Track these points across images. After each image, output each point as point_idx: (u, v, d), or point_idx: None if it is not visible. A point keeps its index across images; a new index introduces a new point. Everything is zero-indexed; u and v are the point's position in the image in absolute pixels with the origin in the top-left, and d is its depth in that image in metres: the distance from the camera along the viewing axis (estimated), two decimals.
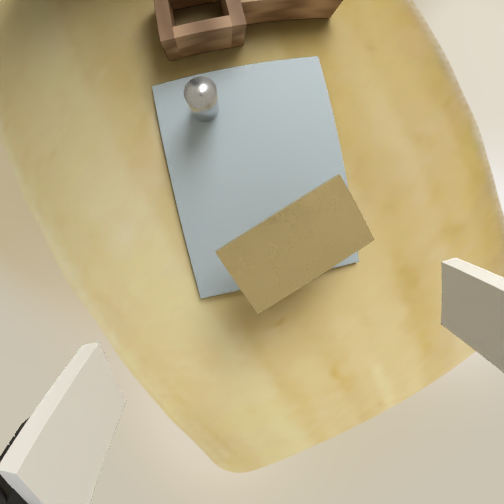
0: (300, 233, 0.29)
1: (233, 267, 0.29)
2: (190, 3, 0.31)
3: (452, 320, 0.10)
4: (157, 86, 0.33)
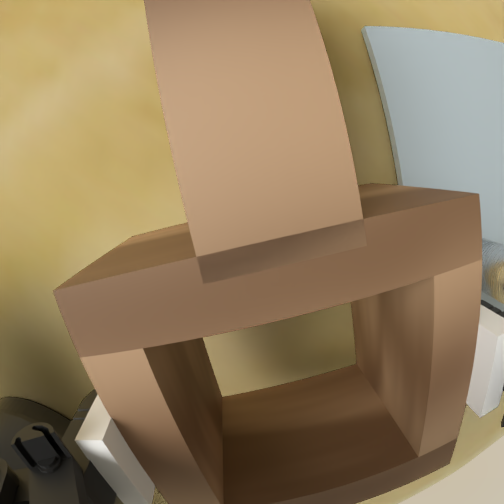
0: None
1: None
2: (206, 362, 0.12)
3: None
4: None
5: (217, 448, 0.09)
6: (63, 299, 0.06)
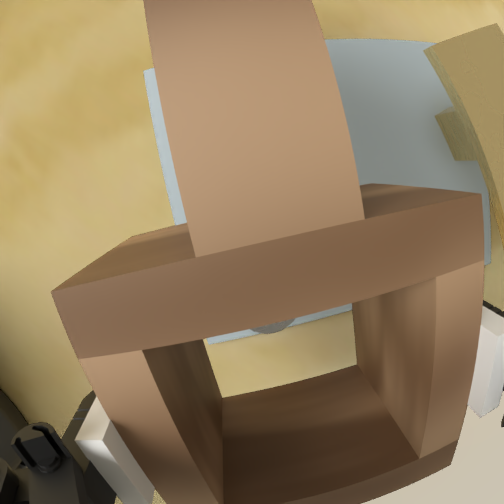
0: None
1: None
2: (206, 363, 0.12)
3: None
4: None
5: (217, 450, 0.09)
6: (61, 300, 0.05)
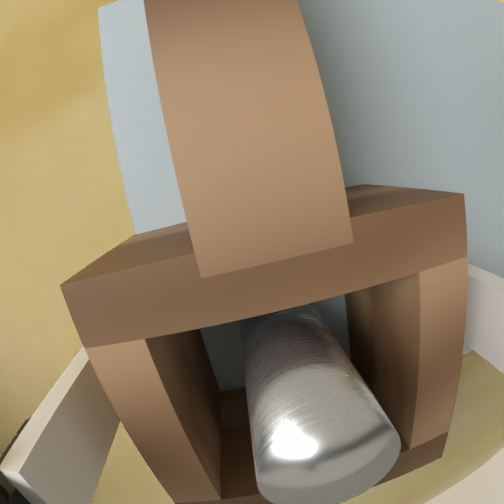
0: None
1: None
2: (205, 357, 0.12)
3: None
4: None
5: (215, 439, 0.10)
6: (70, 293, 0.06)
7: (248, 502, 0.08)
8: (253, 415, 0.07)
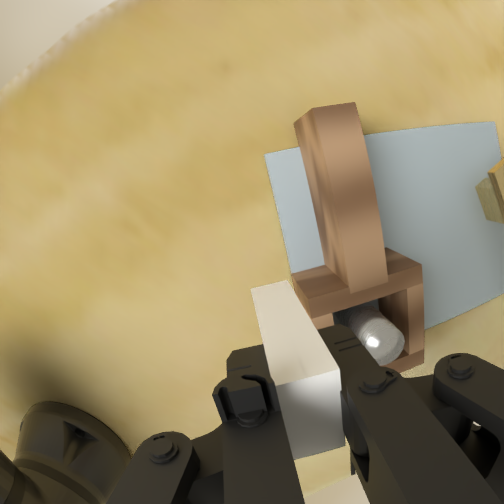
0: None
1: None
2: None
3: None
4: None
5: None
6: (310, 301, 0.21)
7: None
8: (360, 334, 0.22)
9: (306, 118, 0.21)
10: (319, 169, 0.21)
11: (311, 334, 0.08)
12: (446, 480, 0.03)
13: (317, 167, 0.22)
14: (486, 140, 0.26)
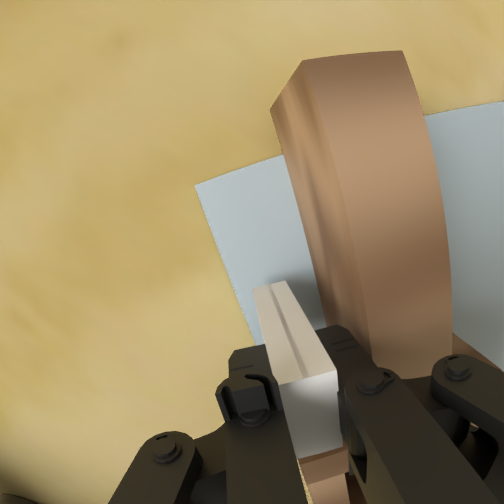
0: None
1: None
2: None
3: None
4: None
5: None
6: (305, 466, 0.10)
7: None
8: None
9: (291, 91, 0.09)
10: (325, 207, 0.10)
11: (308, 335, 0.08)
12: (444, 481, 0.03)
13: (319, 202, 0.10)
14: None
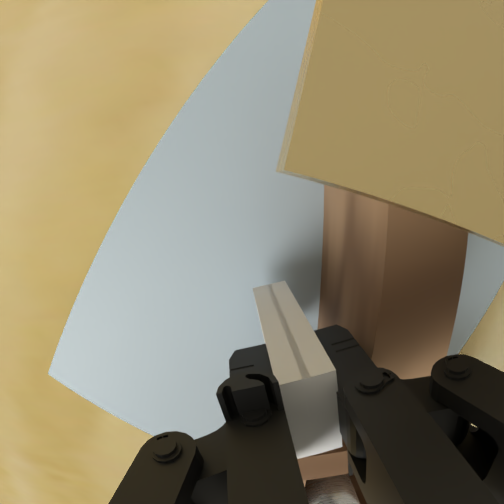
0: None
1: None
2: None
3: None
4: None
5: None
6: None
7: None
8: None
9: None
10: (361, 212, 0.10)
11: (308, 335, 0.08)
12: (443, 482, 0.03)
13: (355, 207, 0.10)
14: None
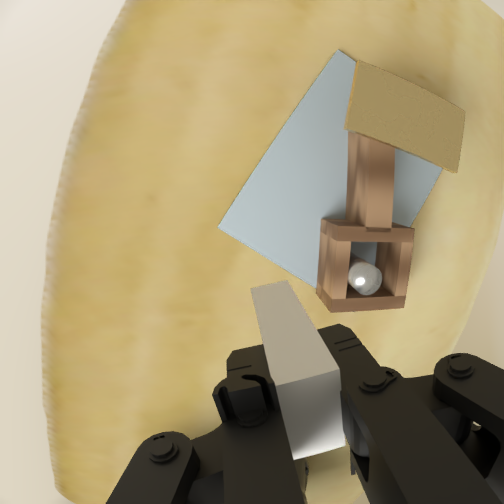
0: (406, 123, 0.26)
1: (456, 152, 0.27)
2: None
3: None
4: None
5: None
6: (339, 228, 0.31)
7: (351, 302, 0.33)
8: (350, 283, 0.32)
9: None
10: (362, 148, 0.31)
11: (311, 334, 0.08)
12: (446, 480, 0.03)
13: (360, 147, 0.32)
14: (343, 70, 0.33)
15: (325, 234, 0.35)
